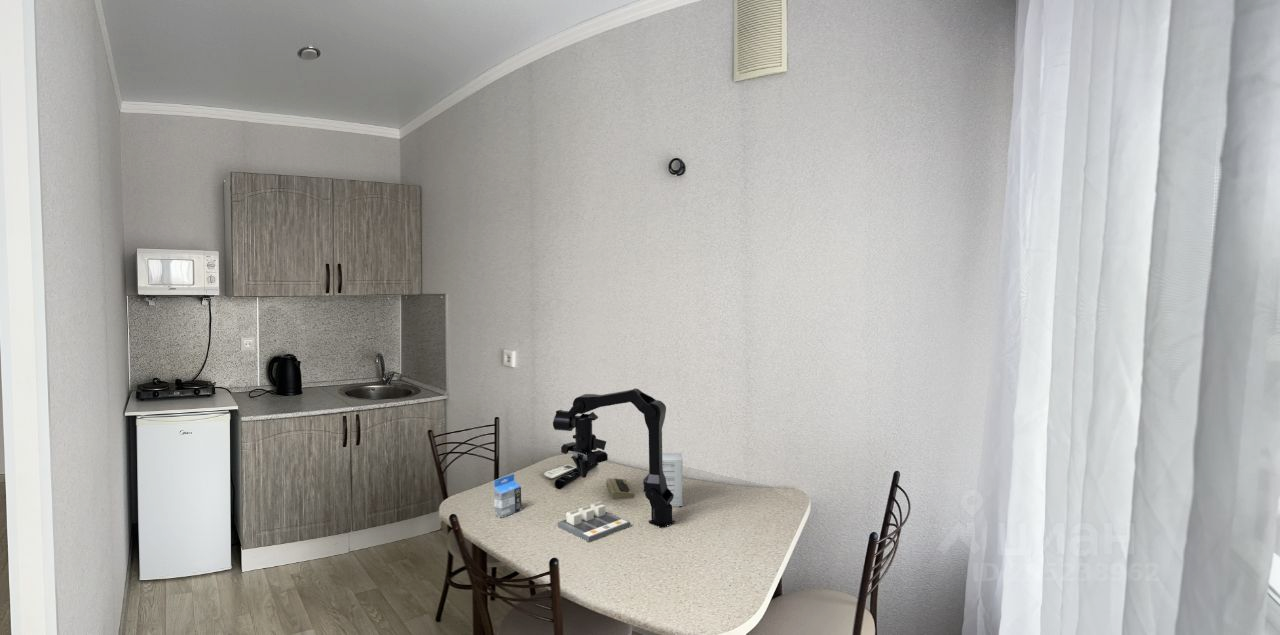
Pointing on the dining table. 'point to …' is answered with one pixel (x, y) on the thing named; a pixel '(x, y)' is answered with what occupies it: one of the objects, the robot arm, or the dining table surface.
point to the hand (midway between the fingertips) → (584, 477)
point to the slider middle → (587, 513)
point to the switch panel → (595, 526)
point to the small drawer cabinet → (673, 475)
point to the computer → (619, 488)
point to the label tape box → (507, 496)
